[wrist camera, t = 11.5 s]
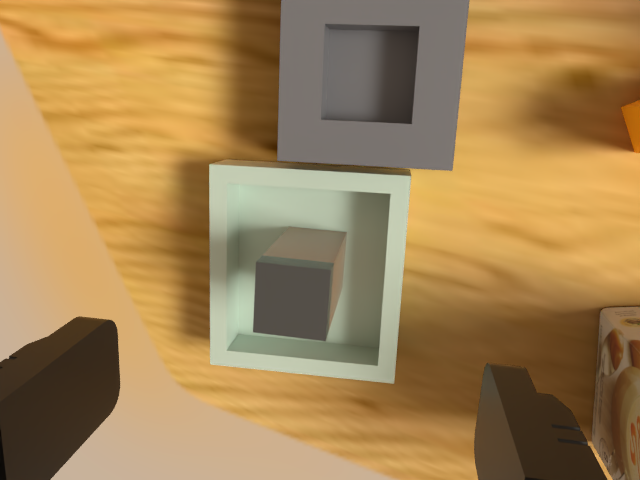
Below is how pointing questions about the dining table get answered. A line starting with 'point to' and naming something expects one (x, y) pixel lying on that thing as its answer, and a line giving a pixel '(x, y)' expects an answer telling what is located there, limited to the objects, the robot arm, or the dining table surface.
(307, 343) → the parts tray
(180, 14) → the dining table surface
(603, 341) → the coffee box
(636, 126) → the pipe clamp
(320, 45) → the block
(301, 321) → the block
